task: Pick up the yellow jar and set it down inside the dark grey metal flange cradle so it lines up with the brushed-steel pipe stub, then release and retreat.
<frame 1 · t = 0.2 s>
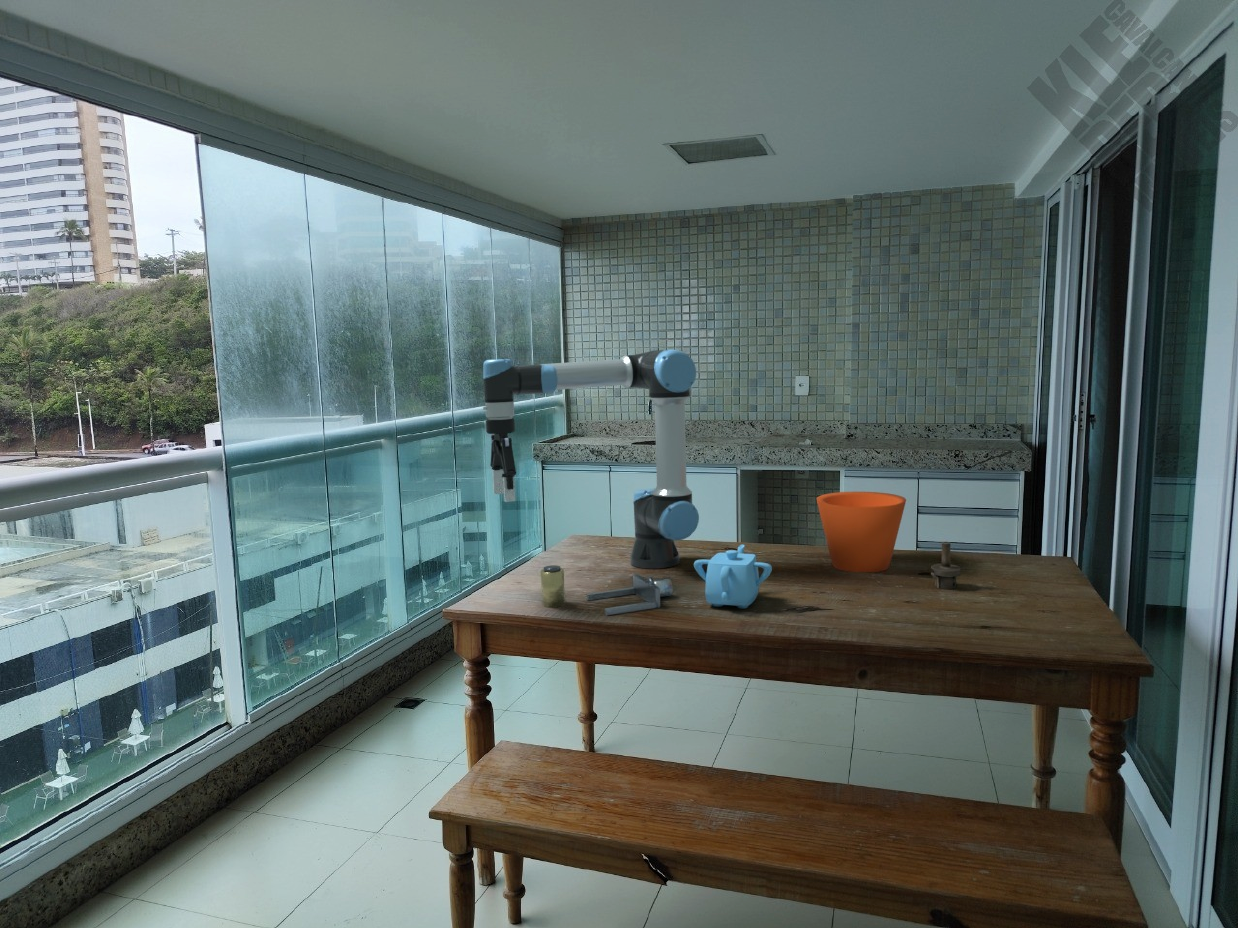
hand: (504, 497, 220), 27 cm above the table, fingers open, 13 cm apart
flowerpot: (860, 565, 242), on the table
flange cradle: (621, 603, 214), on the table
industrial component: (942, 587, 218), on the table
light blue boxy pot: (734, 601, 213), on the table
yellow jar: (553, 603, 216), on the table
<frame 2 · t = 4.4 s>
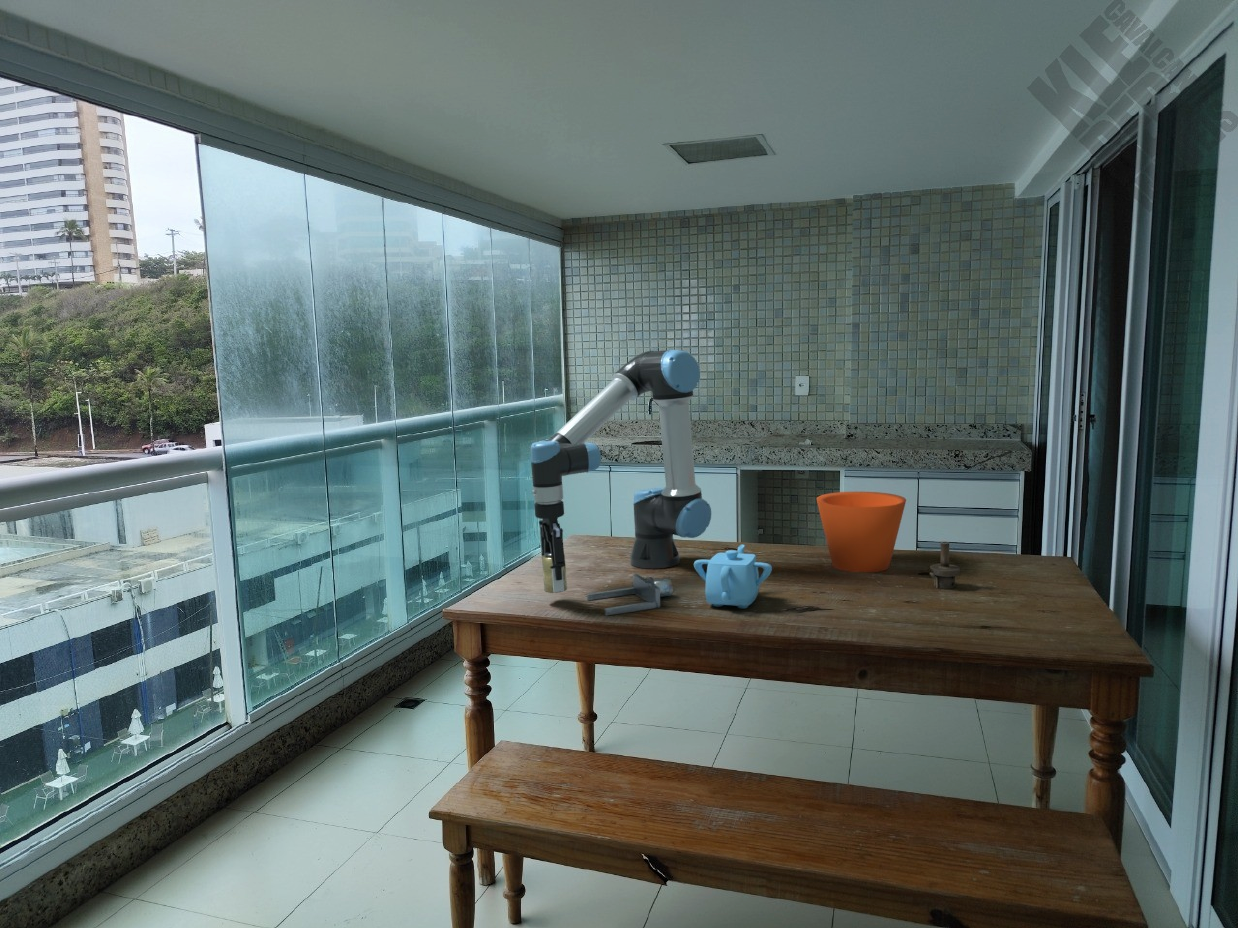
hand: (555, 587, 215), 4 cm above the table, fingers closed on yellow jar, 6 cm apart
yellow jar: (555, 589, 216), point 4 cm above the table, touching gripper
everything else where it was.
when the fingers open (2 cm above the table, at t = 9.1 s): yellow jar drops 1 cm, on the table.
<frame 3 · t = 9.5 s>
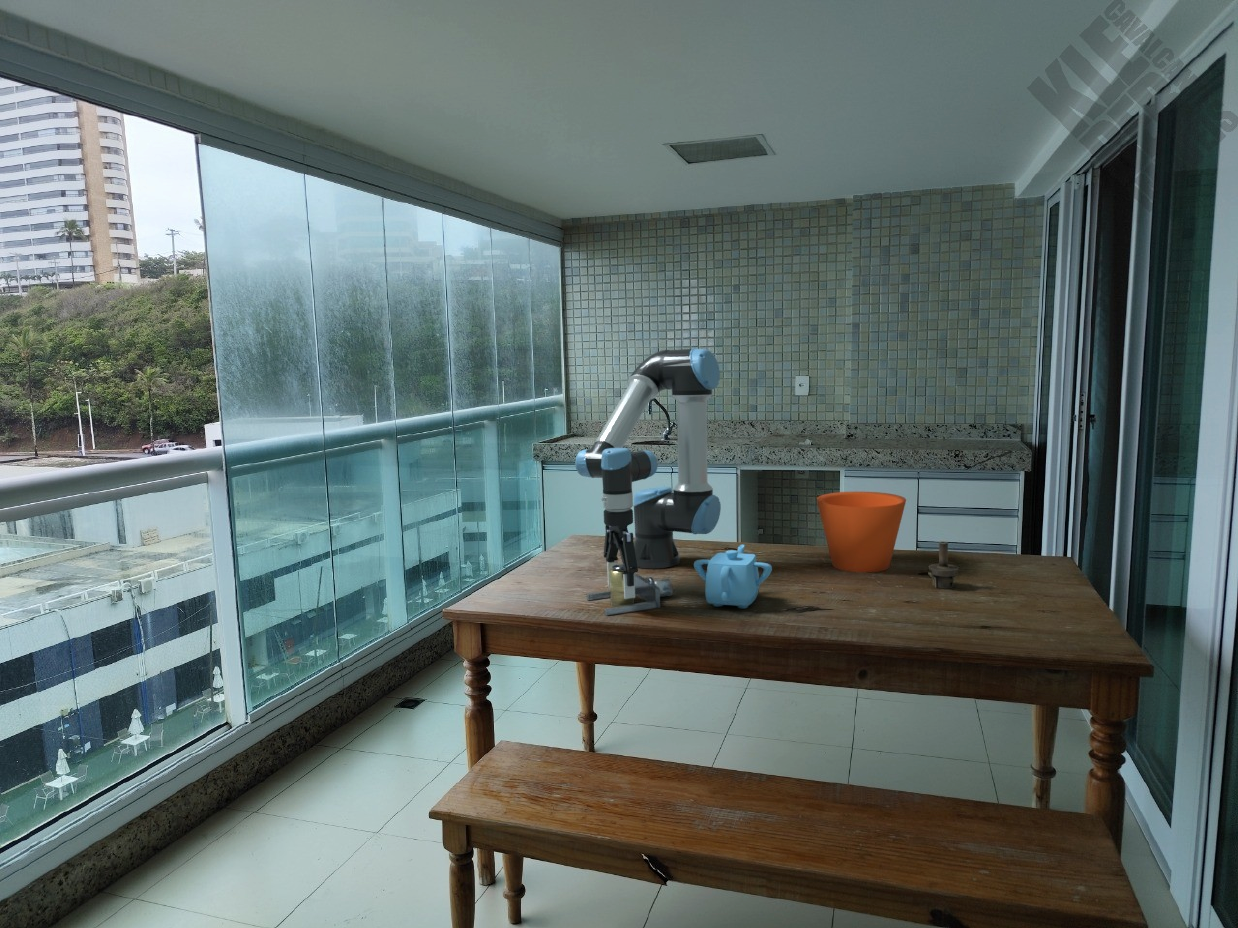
hand: (621, 591, 213), 3 cm above the table, fingers open, 11 cm apart
yellow jar: (622, 603, 214), on the table
everything else where it was.
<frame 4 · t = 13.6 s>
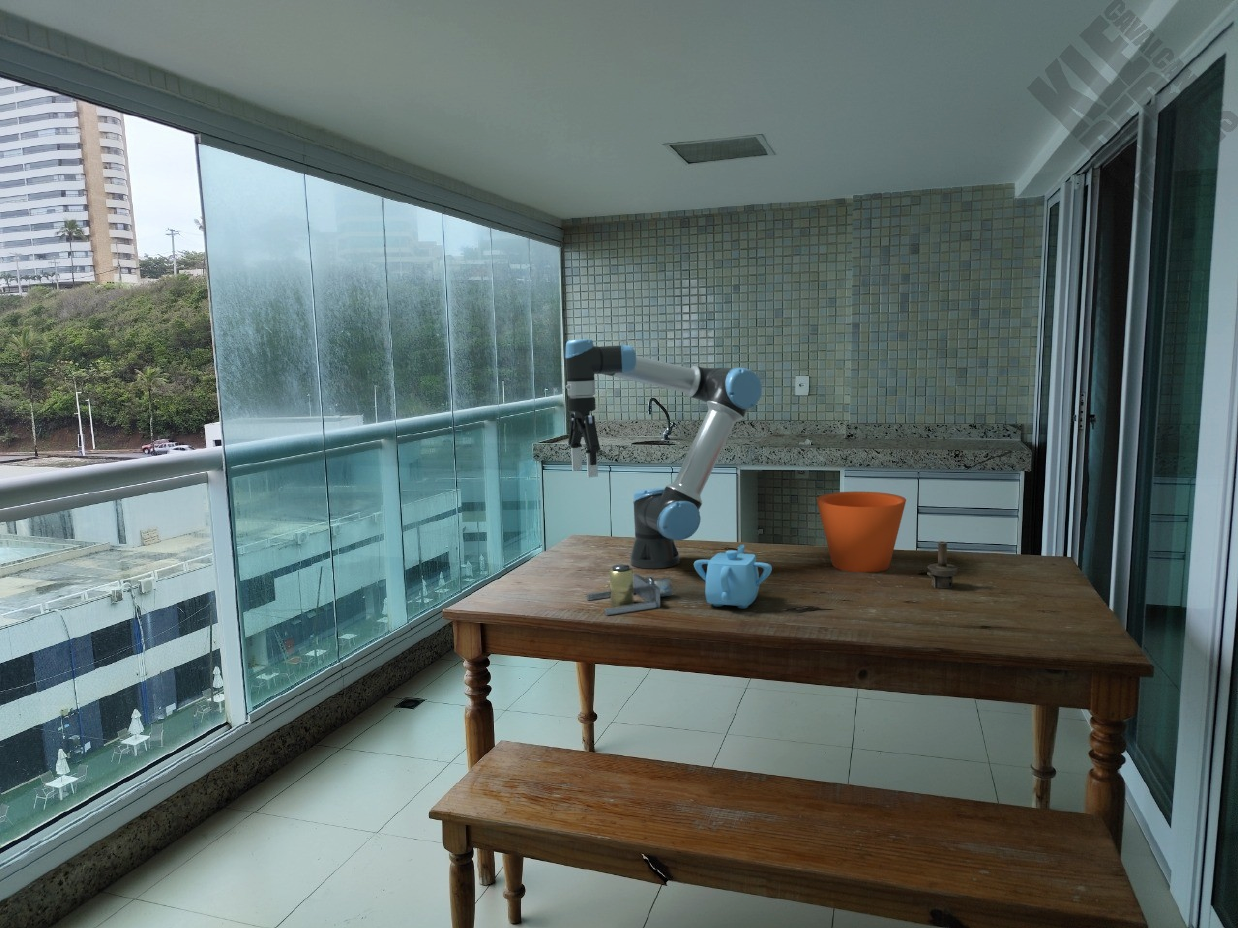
hand: (584, 473, 227), 32 cm above the table, fingers open, 13 cm apart
nothing on the table moved.
at the end: yellow jar inside the target area on the flange cradle (0.2 cm from its centre), point 0.0 cm above the flange cradle's base; yellow jar tilted 0°; the gripper is holding nothing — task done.
